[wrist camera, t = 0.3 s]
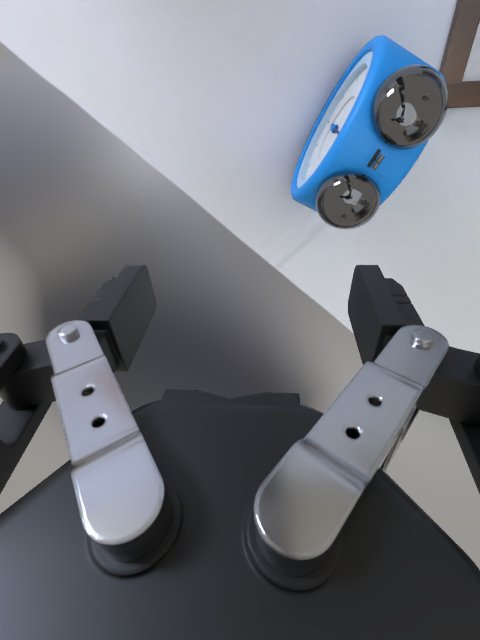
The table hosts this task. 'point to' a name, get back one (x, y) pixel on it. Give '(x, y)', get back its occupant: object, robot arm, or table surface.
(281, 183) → the table surface
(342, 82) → the alarm clock
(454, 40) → the frame
